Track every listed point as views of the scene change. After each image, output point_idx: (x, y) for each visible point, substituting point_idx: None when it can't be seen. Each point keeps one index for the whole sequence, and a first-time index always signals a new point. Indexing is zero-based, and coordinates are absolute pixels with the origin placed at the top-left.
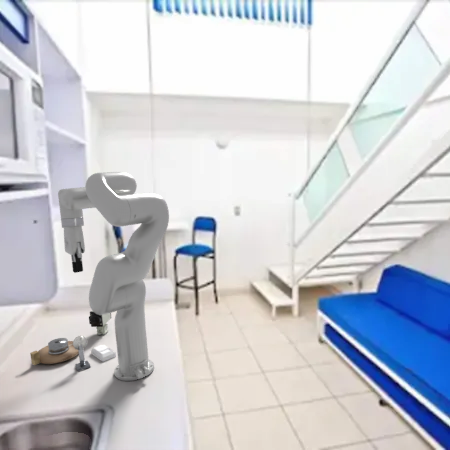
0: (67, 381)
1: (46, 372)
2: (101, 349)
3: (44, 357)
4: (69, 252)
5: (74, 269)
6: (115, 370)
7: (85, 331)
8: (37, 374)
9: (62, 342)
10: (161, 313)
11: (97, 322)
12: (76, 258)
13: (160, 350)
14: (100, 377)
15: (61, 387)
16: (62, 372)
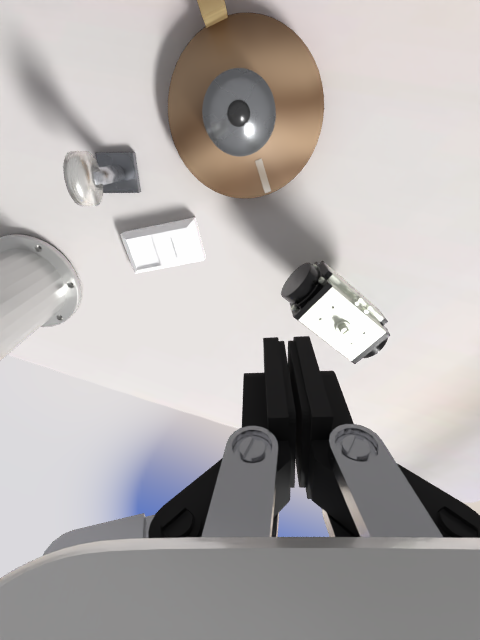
0: (47, 107)
1: (142, 49)
2: (160, 245)
3: (215, 50)
4: (148, 602)
5: (265, 359)
6: (29, 242)
7: (384, 244)
8: (144, 12)
9: (219, 130)
10: None
11: (286, 284)
12: (170, 501)
13: (112, 360)
14: (33, 200)
15: (17, 81)
16: (115, 104)
